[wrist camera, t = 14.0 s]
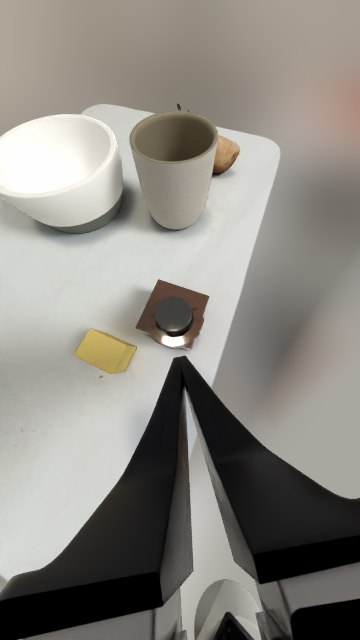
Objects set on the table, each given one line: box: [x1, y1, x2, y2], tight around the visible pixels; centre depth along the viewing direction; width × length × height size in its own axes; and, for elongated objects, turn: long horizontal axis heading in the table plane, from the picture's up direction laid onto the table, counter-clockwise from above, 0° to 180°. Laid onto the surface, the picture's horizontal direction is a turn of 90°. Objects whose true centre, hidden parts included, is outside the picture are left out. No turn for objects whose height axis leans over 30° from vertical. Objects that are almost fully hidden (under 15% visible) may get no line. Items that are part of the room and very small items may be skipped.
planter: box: [130, 111, 218, 229], centre depth 24 cm, size 12×12×11 cm
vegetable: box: [177, 104, 240, 173], centre depth 29 cm, size 16×11×10 cm
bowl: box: [0, 114, 123, 234], centre depth 26 cm, size 22×22×8 cm
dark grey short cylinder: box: [155, 296, 192, 335], centre depth 15 cm, size 4×4×2 cm
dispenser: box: [136, 280, 209, 351], centre depth 19 cm, size 9×8×6 cm
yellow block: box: [74, 328, 136, 374], centre depth 20 cm, size 6×4×4 cm, turn 66°
